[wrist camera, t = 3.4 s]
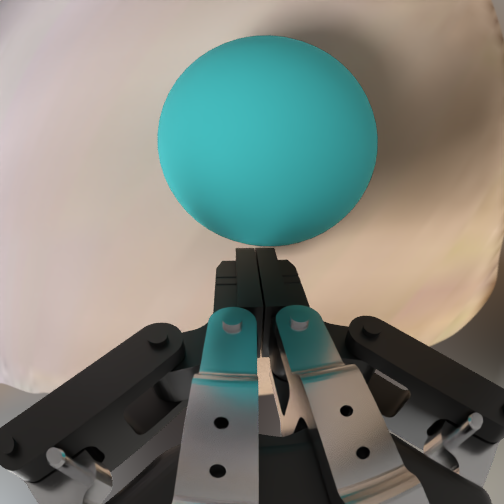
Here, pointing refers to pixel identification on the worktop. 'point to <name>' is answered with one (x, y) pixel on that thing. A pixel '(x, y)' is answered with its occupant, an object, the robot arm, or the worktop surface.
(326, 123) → the ball
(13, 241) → the worktop surface
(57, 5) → the worktop surface
